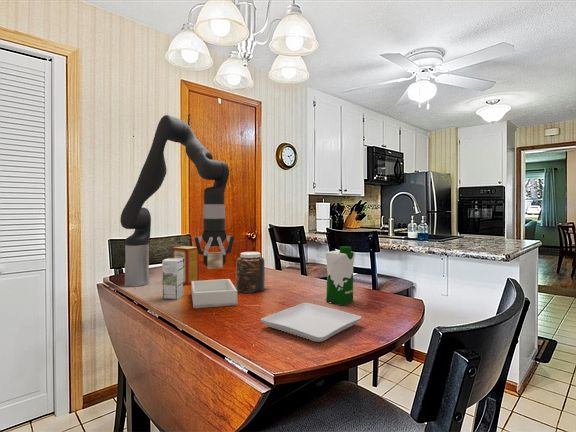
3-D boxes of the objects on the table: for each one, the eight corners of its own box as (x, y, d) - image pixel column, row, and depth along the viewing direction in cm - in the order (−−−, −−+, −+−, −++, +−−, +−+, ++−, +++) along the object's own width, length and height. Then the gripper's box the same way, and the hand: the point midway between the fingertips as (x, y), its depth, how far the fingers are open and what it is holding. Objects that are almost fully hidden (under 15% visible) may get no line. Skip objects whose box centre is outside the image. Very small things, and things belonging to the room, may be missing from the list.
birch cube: (207, 269, 118) (207, 254, 118) (206, 266, 123) (206, 252, 123) (222, 268, 120) (222, 253, 120) (220, 265, 125) (220, 252, 125)
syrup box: (183, 295, 131) (183, 257, 131) (177, 300, 125) (176, 260, 125) (169, 295, 132) (168, 257, 131) (162, 299, 126) (161, 259, 126)
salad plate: (321, 350, 83) (321, 336, 83) (258, 329, 97) (258, 317, 97) (363, 327, 99) (363, 315, 99) (304, 312, 113) (305, 301, 113)
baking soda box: (172, 282, 154) (172, 246, 153) (184, 279, 159) (184, 245, 159) (187, 285, 149) (187, 248, 148) (198, 282, 154) (198, 246, 154)
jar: (267, 292, 137) (267, 254, 137) (237, 294, 134) (237, 255, 134) (262, 285, 149) (262, 250, 148) (234, 287, 146) (234, 251, 145)
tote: (193, 308, 115) (193, 293, 115) (191, 294, 134) (191, 281, 134) (237, 304, 120) (237, 290, 119) (229, 291, 138) (229, 278, 138)
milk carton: (344, 307, 118) (345, 248, 117) (322, 302, 123) (322, 246, 123) (356, 301, 124) (357, 246, 124) (335, 297, 130) (335, 244, 130)
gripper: (233, 216, 127) (233, 263, 127) (192, 217, 122) (192, 264, 123) (236, 217, 120) (236, 266, 120) (193, 217, 115) (193, 268, 116)
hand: (214, 265), depth 122 cm, fingers closed on birch cube, 5 cm apart
